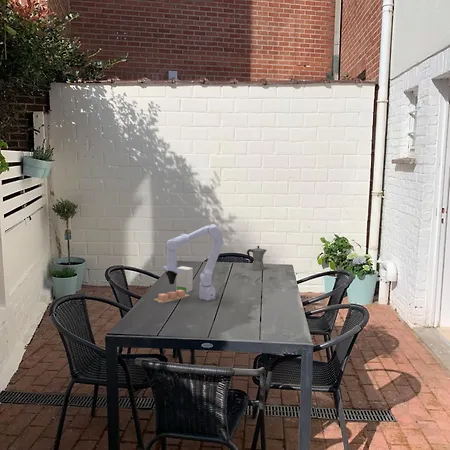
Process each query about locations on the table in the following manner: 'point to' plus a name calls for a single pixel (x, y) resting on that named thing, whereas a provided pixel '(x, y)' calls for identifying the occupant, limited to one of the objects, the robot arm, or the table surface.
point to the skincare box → (184, 279)
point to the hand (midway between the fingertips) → (171, 283)
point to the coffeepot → (257, 258)
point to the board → (171, 299)
